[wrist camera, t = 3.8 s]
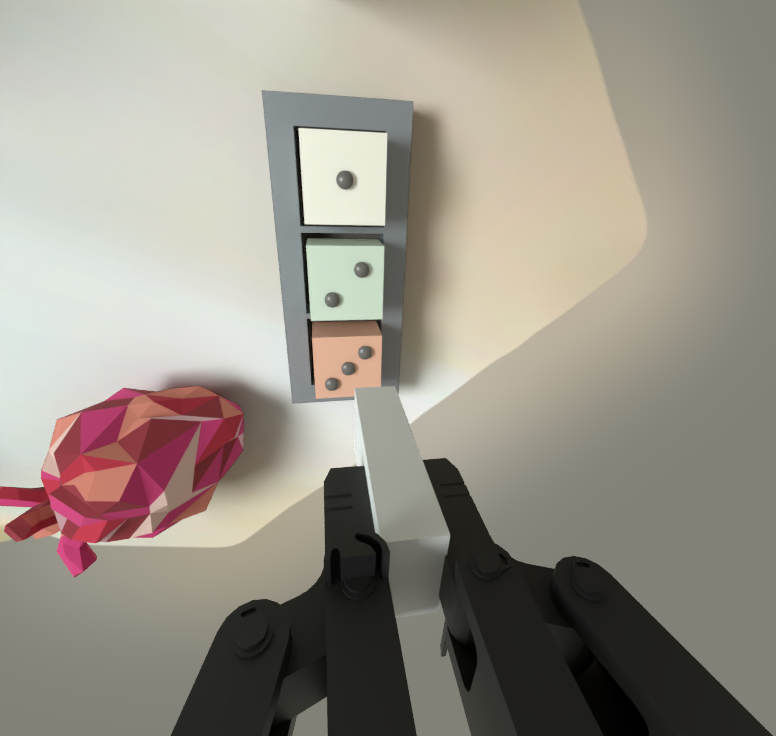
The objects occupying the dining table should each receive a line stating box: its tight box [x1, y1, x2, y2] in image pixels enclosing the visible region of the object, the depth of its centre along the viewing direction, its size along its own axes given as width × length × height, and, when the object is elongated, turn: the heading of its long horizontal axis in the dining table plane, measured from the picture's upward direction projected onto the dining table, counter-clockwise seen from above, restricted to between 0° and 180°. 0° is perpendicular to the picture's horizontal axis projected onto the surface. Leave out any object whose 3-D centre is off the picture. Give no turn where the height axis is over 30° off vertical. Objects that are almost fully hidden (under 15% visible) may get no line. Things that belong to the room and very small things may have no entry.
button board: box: [262, 90, 413, 403], centre depth 34 cm, size 11×26×3 cm, turn 178°
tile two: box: [306, 238, 384, 321], centre depth 31 cm, size 6×6×4 cm
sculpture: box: [0, 386, 244, 577], centre depth 34 cm, size 14×12×20 cm
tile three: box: [312, 320, 382, 399], centre depth 35 cm, size 6×6×4 cm
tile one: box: [298, 128, 387, 226], centre depth 28 cm, size 6×6×4 cm
